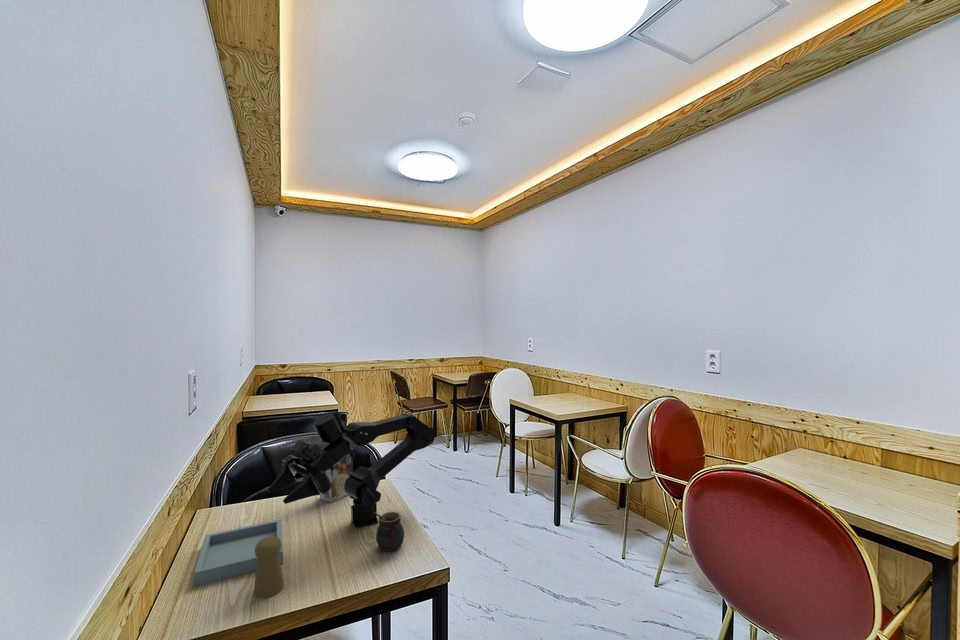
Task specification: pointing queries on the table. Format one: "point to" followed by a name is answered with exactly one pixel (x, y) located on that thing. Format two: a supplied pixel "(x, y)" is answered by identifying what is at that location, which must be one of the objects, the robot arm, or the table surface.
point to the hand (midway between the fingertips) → (275, 496)
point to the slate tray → (233, 551)
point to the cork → (268, 568)
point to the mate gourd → (389, 531)
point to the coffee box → (338, 479)
